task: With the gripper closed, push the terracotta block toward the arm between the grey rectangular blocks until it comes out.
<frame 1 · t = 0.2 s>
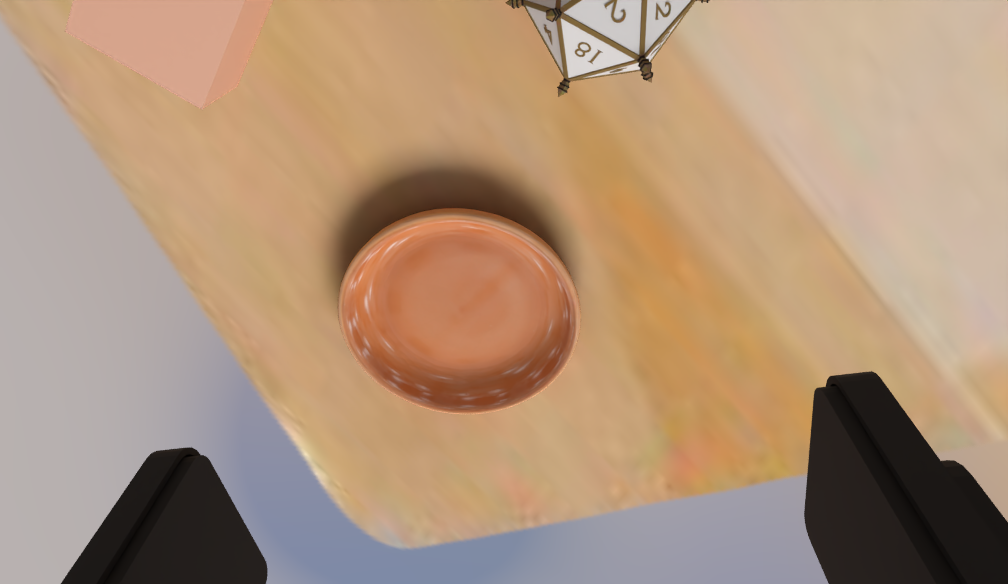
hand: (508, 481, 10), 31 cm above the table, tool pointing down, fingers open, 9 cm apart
saucer: (463, 299, 46), on the table
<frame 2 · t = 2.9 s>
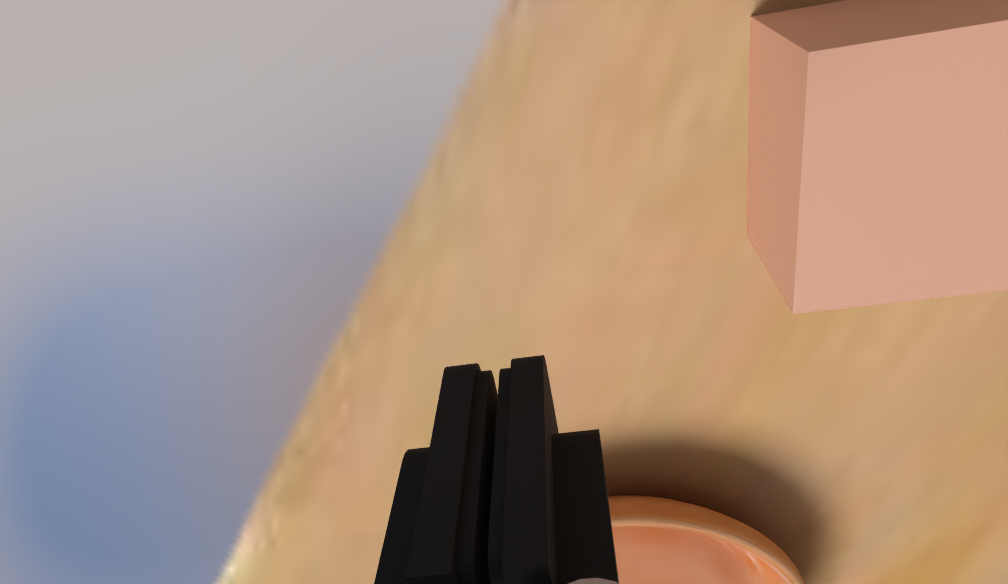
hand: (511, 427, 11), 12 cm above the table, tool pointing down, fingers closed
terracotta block: (865, 116, 20), on the table
saucer: (625, 575, 33), on the table
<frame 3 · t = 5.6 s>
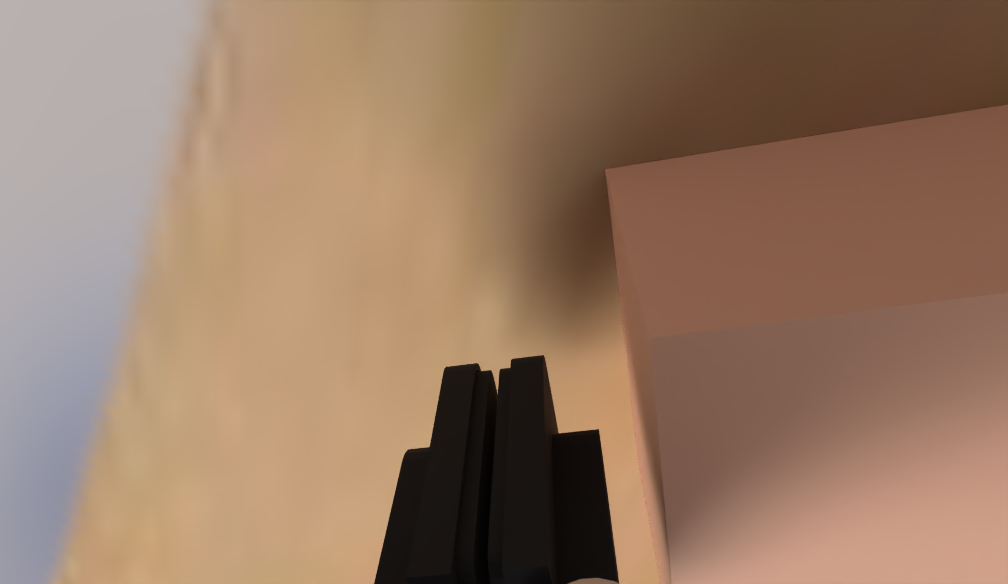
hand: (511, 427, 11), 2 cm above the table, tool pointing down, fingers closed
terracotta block: (810, 311, 12), on the table, touching gripper
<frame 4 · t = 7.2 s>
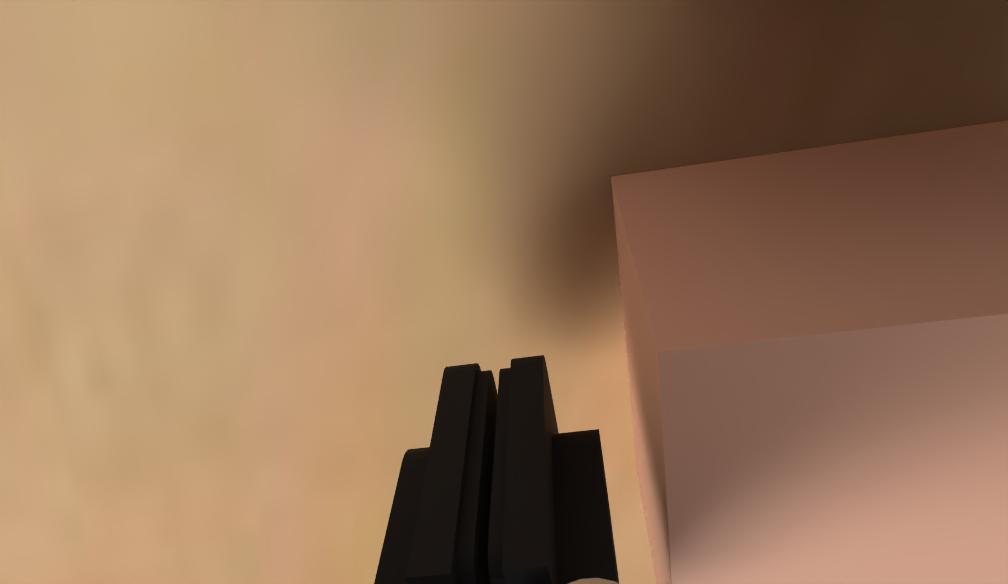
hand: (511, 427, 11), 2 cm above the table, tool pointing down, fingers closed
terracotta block: (811, 322, 12), on the table, touching gripper
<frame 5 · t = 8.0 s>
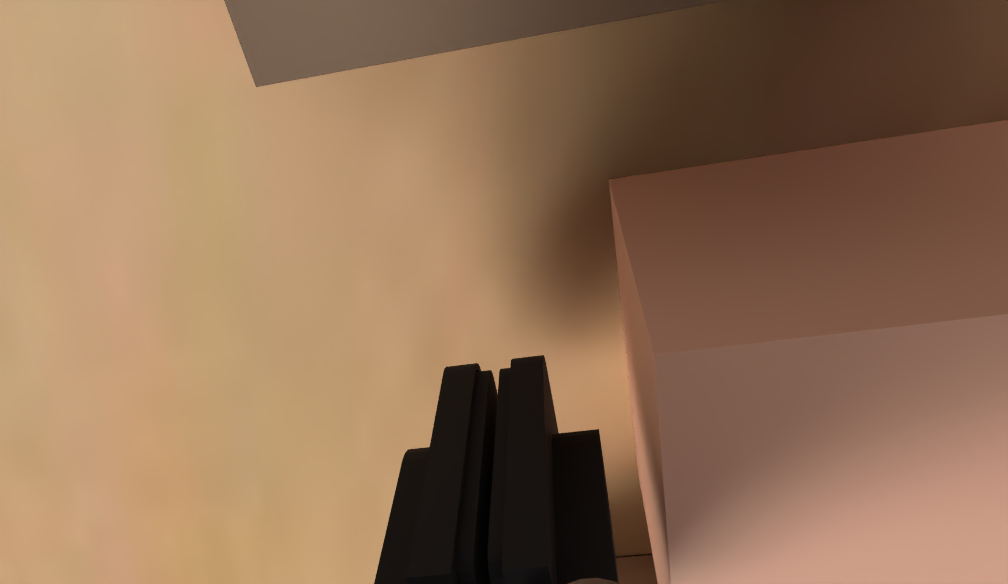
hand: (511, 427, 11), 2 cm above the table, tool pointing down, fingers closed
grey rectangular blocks: (674, 333, 13), on the table
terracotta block: (810, 322, 12), on the table, touching gripper
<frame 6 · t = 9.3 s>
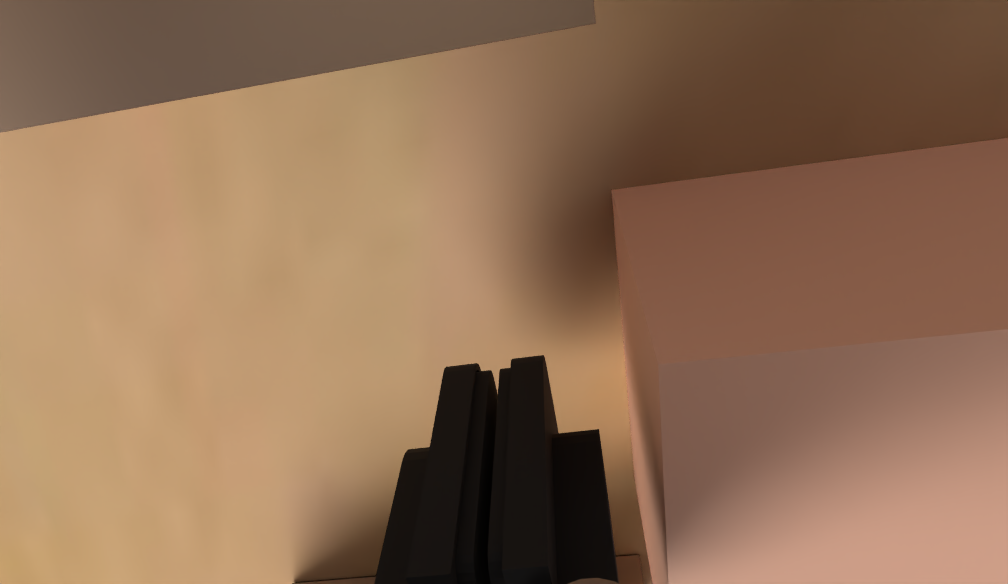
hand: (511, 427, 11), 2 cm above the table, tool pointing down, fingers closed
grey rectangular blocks: (392, 367, 13), on the table
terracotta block: (805, 331, 13), on the table, touching gripper
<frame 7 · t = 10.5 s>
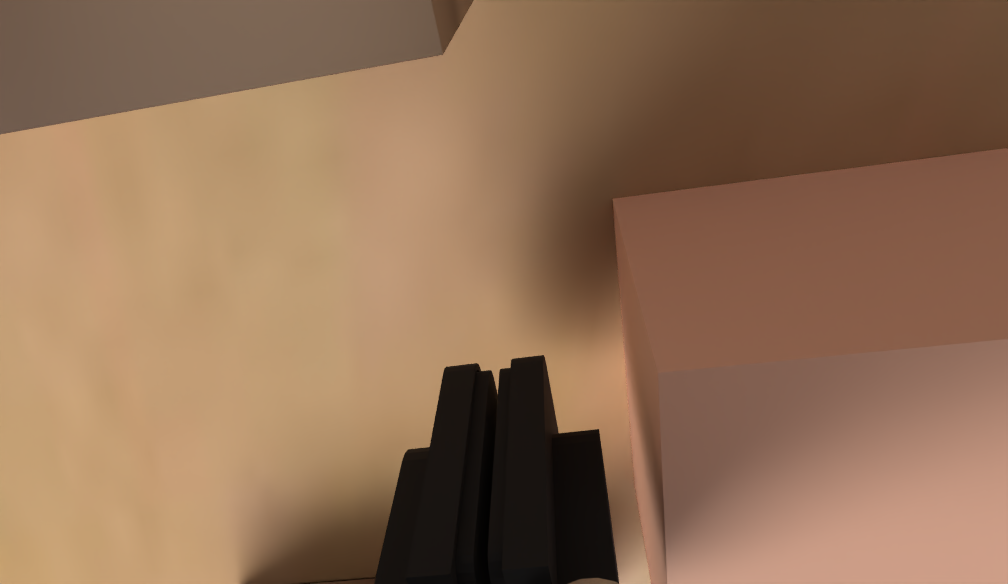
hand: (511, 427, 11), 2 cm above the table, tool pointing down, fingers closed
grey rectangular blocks: (322, 377, 14), on the table
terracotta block: (804, 337, 13), on the table, touching gripper
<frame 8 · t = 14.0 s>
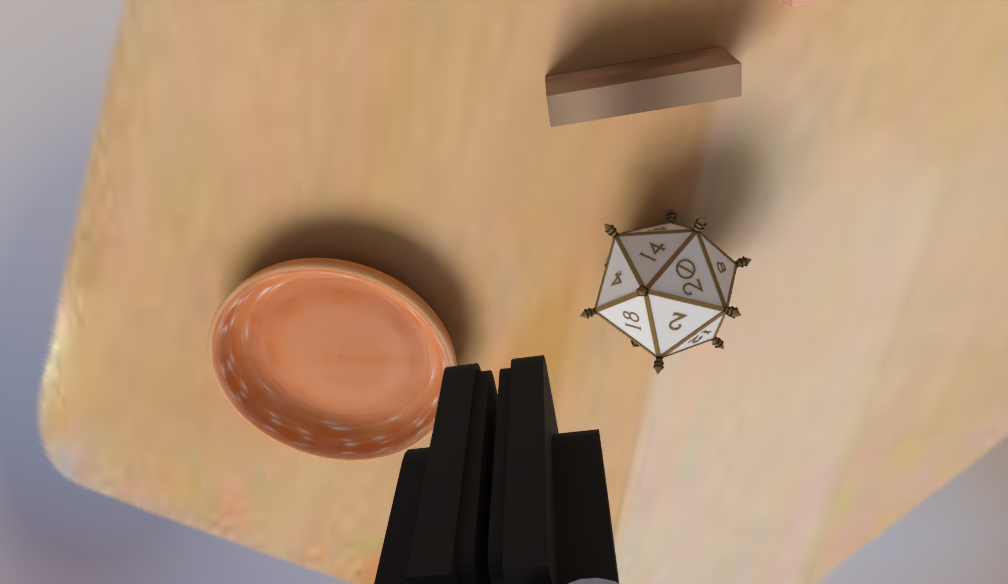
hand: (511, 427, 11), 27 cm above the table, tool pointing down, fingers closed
saucer: (344, 344, 45), on the table
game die: (653, 252, 40), on the table
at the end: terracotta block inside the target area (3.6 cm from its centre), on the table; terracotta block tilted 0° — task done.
